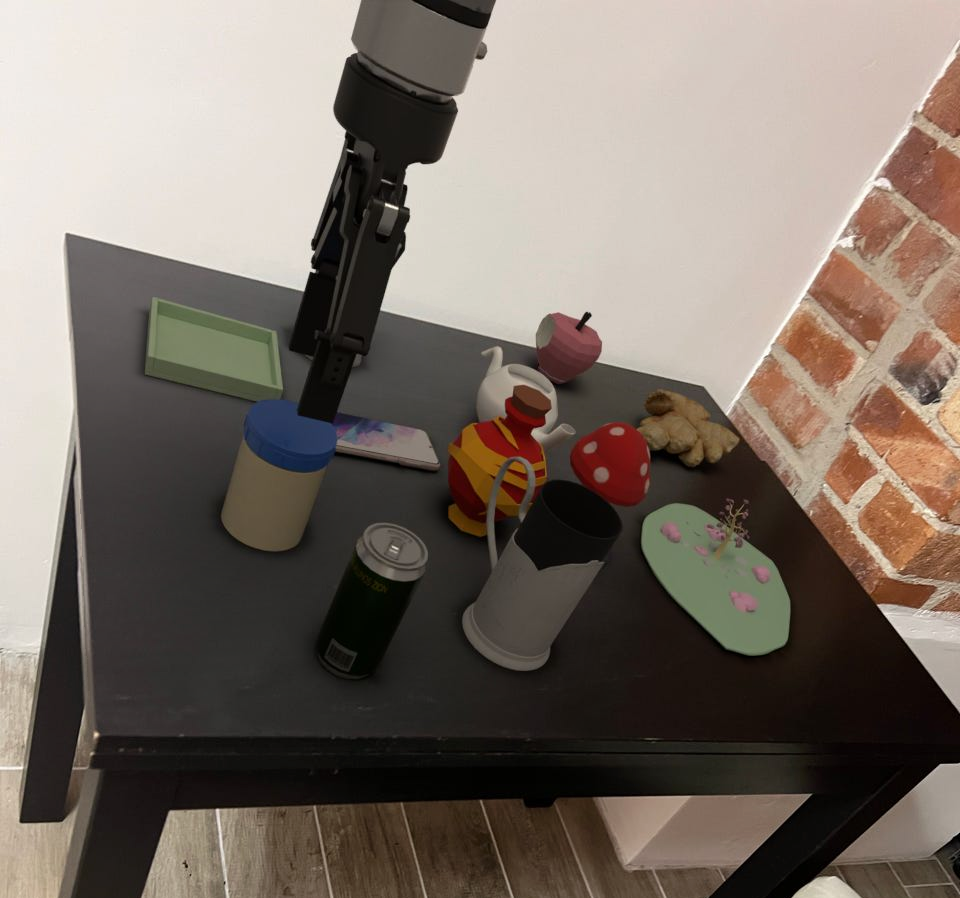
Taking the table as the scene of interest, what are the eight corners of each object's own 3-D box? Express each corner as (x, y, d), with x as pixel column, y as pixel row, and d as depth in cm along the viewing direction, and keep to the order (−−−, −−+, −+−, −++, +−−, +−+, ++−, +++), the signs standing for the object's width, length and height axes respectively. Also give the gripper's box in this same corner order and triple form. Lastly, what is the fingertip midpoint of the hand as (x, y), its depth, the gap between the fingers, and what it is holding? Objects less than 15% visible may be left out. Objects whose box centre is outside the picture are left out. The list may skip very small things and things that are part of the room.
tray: (144, 374, 89) (148, 355, 88) (148, 314, 97) (152, 296, 96) (278, 407, 94) (283, 389, 93) (271, 347, 102) (276, 331, 101)
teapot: (494, 400, 116) (525, 336, 110) (567, 502, 105) (605, 436, 99) (430, 392, 110) (459, 323, 105) (500, 498, 99) (536, 428, 94)
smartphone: (296, 402, 95) (426, 429, 102) (293, 410, 95) (424, 436, 102) (307, 441, 90) (443, 466, 97) (304, 449, 91) (439, 473, 98)
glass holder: (493, 677, 78) (572, 547, 69) (417, 564, 85) (480, 433, 76) (566, 663, 84) (648, 541, 74) (489, 559, 90) (556, 435, 81)
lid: (244, 460, 71) (250, 441, 70) (241, 408, 76) (246, 390, 74) (335, 480, 74) (342, 462, 73) (327, 428, 79) (333, 411, 78)
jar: (221, 543, 76) (249, 447, 70) (220, 490, 81) (245, 396, 75) (305, 557, 79) (338, 467, 73) (299, 506, 84) (330, 417, 78)
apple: (519, 351, 130) (549, 287, 124) (572, 370, 133) (604, 308, 127) (528, 385, 123) (561, 319, 117) (584, 404, 126) (619, 341, 120)
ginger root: (707, 424, 136) (738, 385, 130) (716, 502, 127) (750, 465, 121) (614, 390, 132) (641, 348, 125) (617, 469, 123) (646, 428, 117)
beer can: (368, 692, 71) (422, 581, 64) (304, 664, 70) (351, 549, 63) (385, 649, 75) (437, 541, 68) (324, 623, 74) (371, 510, 67)
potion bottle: (410, 483, 94) (465, 357, 85) (493, 492, 100) (554, 374, 91) (445, 552, 88) (509, 424, 79) (531, 557, 94) (600, 438, 85)
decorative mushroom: (523, 507, 100) (585, 391, 91) (591, 527, 103) (659, 417, 94) (535, 564, 93) (604, 445, 84) (608, 585, 96) (683, 472, 87)
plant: (834, 672, 102) (888, 616, 97) (687, 648, 94) (737, 585, 88) (746, 530, 119) (788, 476, 113) (614, 499, 110) (652, 438, 105)
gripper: (496, 159, 52) (372, 475, 66) (431, 49, 66) (341, 328, 80) (371, 110, 48) (269, 453, 62) (331, 6, 63) (255, 304, 77)
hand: (309, 383), depth 71 cm, fingers open, 9 cm apart
